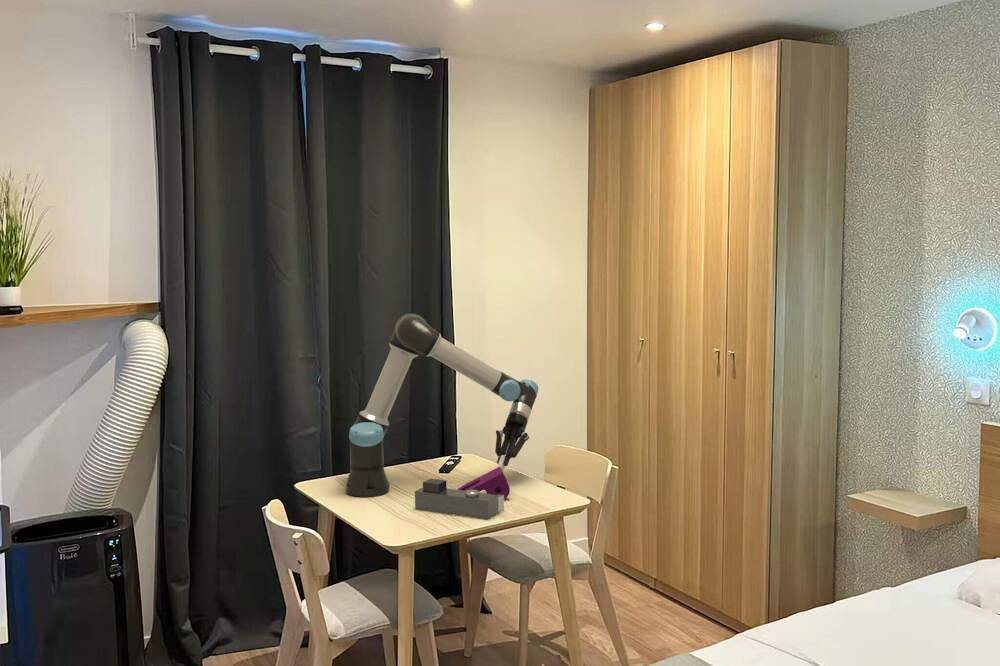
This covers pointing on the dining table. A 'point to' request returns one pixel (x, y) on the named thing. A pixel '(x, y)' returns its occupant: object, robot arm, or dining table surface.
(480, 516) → the block
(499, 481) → the mounting bracket
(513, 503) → the dining table surface
